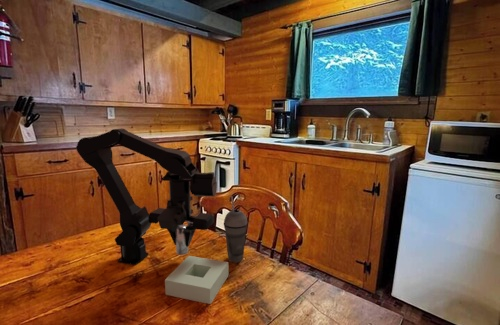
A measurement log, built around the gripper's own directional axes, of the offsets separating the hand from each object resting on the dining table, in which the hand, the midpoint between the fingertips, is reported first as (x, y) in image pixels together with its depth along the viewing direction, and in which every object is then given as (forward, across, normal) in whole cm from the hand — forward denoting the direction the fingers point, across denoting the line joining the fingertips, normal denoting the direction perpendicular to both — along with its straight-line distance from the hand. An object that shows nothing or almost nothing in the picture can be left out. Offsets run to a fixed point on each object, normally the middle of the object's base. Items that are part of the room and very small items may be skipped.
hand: (182, 245), depth 82 cm
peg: (+2, 0, 0) cm, 2 cm away
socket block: (+5, +10, -9) cm, 14 cm away
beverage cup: (+5, +15, +6) cm, 17 cm away
